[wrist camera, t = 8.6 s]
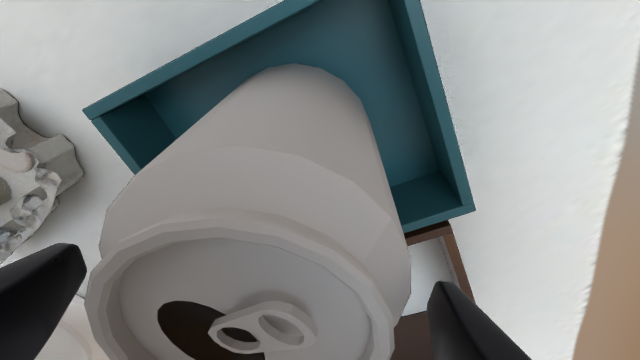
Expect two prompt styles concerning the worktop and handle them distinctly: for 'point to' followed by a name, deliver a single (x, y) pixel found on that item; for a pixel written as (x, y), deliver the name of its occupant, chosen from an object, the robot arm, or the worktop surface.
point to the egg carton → (29, 176)
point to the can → (257, 235)
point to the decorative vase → (73, 337)
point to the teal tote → (332, 56)
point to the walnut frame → (413, 330)
